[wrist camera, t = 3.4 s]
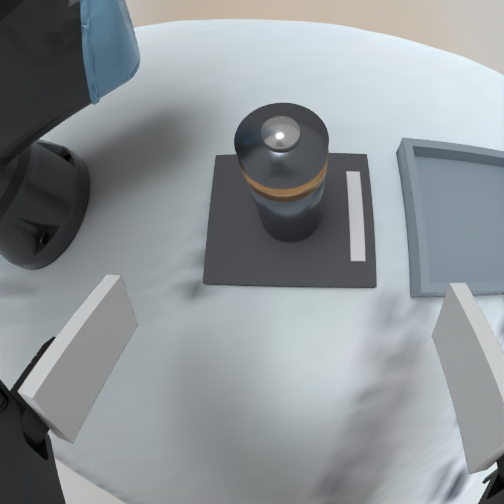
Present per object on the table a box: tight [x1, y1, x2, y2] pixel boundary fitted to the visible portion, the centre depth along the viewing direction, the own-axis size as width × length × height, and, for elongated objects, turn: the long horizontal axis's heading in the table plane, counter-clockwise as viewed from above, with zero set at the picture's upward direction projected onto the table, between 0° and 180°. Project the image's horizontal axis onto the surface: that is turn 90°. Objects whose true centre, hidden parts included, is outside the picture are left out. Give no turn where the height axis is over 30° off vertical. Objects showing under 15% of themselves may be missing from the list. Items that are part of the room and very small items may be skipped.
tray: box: [397, 138, 504, 297], centre depth 23 cm, size 14×14×2 cm
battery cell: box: [234, 103, 329, 243], centre depth 21 cm, size 5×5×12 cm
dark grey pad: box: [203, 153, 376, 288], centre depth 27 cm, size 14×12×1 cm
